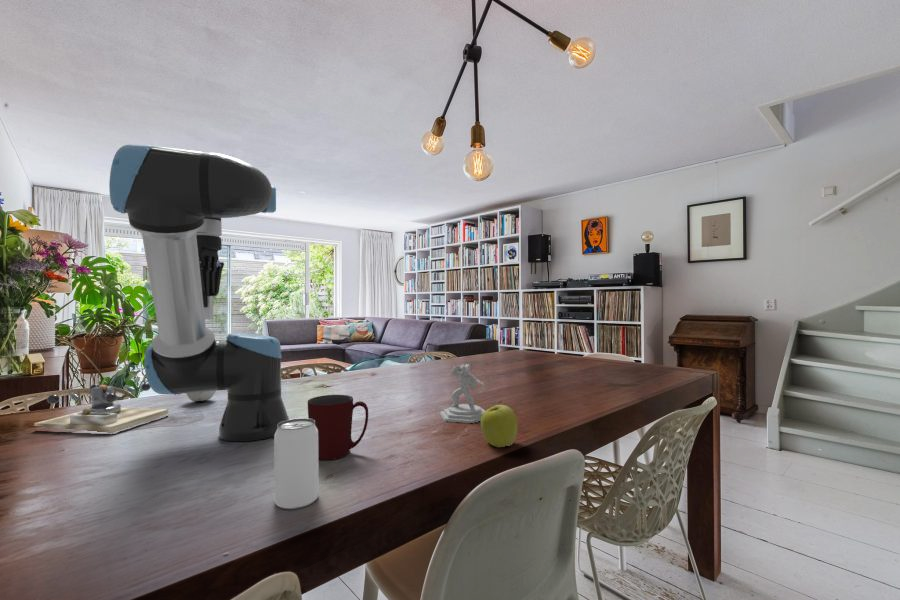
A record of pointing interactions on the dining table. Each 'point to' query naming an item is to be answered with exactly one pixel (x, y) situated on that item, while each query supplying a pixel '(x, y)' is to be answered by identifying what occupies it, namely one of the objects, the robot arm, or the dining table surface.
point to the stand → (103, 419)
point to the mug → (334, 424)
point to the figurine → (466, 411)
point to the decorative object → (200, 395)
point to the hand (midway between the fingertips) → (206, 318)
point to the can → (296, 463)
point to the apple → (499, 425)
